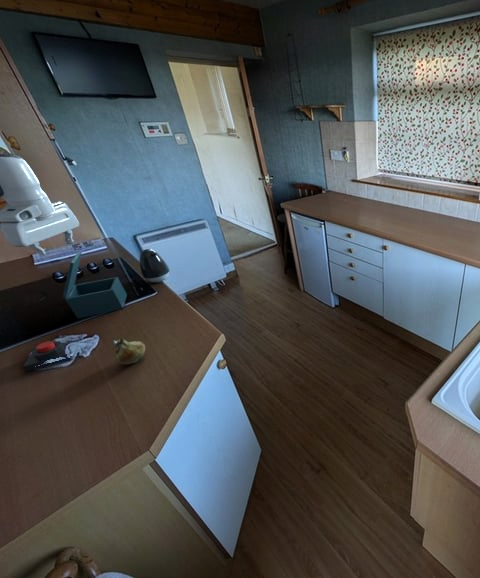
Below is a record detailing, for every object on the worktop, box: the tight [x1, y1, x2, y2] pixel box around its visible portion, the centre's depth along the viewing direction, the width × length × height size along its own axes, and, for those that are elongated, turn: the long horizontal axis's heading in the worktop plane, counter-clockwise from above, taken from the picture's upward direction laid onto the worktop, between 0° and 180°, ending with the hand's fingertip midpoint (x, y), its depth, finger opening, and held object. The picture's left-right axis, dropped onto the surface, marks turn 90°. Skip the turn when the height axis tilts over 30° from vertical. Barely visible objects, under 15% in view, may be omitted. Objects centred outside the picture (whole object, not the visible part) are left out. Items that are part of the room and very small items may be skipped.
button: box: [35, 340, 56, 353], centre depth 90 cm, size 4×4×2 cm
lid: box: [62, 250, 83, 299], centre depth 108 cm, size 14×12×1 cm
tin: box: [64, 276, 128, 320], centre depth 115 cm, size 14×12×9 cm
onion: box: [112, 338, 146, 366], centre depth 90 cm, size 8×8×8 cm
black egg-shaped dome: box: [139, 248, 170, 283], centre depth 132 cm, size 10×10×15 cm
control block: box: [22, 339, 75, 372], centre depth 92 cm, size 10×8×4 cm
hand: (57, 248), depth 99 cm, fingers open, 8 cm apart
